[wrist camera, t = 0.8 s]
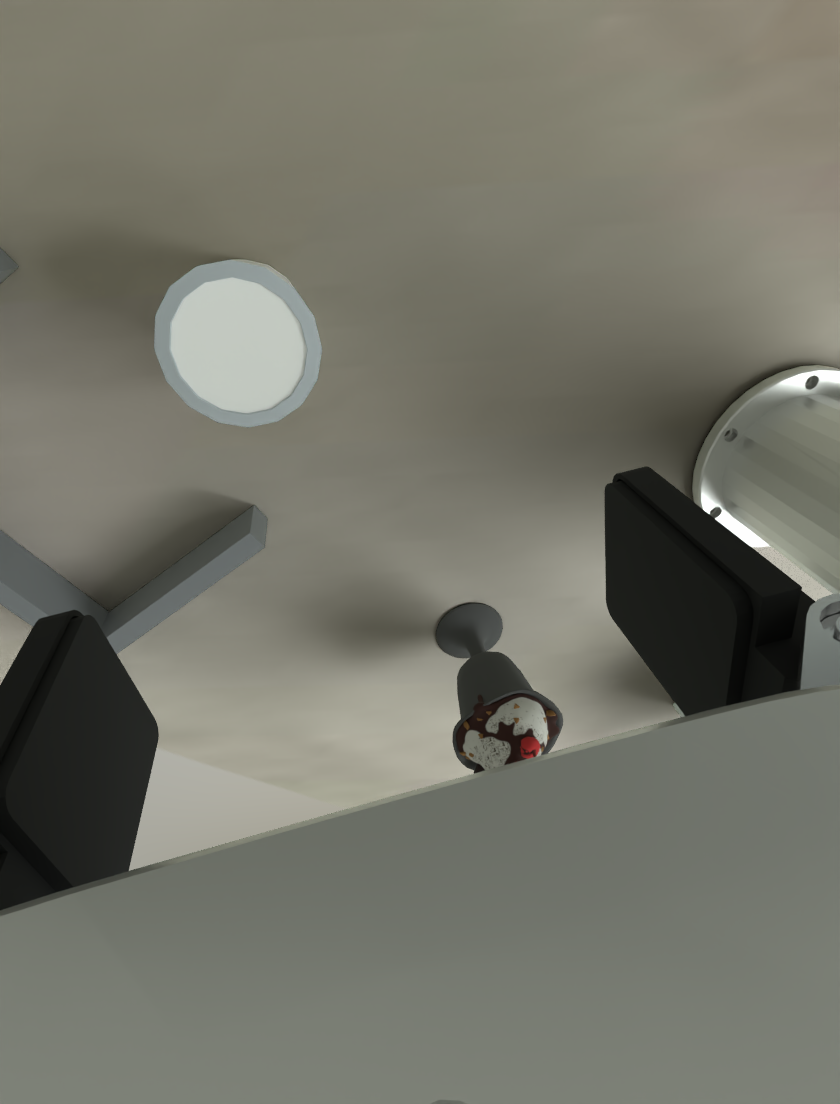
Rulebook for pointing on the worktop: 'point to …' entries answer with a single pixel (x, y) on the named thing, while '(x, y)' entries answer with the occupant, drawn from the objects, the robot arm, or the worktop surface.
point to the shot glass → (237, 342)
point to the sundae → (493, 695)
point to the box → (40, 591)
